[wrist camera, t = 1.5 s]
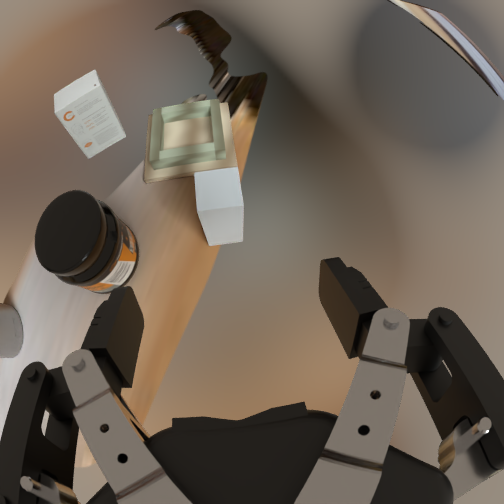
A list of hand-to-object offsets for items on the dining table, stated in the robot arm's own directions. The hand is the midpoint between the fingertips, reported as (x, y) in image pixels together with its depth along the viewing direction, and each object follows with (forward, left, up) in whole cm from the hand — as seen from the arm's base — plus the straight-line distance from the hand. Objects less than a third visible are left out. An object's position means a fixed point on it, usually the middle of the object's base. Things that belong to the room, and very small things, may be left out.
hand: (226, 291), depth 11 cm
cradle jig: (-4, +28, -24) cm, 37 cm away
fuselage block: (0, +12, -24) cm, 27 cm away
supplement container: (-17, +10, -24) cm, 31 cm away
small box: (-20, +33, -24) cm, 46 cm away
